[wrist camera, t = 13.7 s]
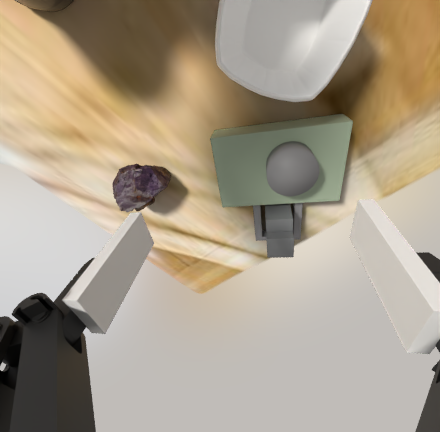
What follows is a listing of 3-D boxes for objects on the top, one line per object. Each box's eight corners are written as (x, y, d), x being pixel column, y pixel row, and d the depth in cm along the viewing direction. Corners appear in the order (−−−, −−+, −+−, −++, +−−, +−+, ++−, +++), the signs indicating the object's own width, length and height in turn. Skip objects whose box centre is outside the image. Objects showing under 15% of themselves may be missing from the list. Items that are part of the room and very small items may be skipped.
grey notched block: (266, 226, 54) (267, 257, 46) (264, 198, 49) (265, 226, 41) (287, 225, 53) (293, 257, 45) (288, 196, 48) (294, 225, 40)
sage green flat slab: (231, 234, 57) (228, 261, 49) (214, 130, 42) (205, 146, 35) (325, 231, 52) (336, 260, 45) (342, 113, 38) (362, 128, 31)
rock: (179, 178, 51) (143, 144, 47) (172, 194, 43) (129, 156, 39) (146, 208, 55) (111, 179, 51) (135, 228, 47) (92, 196, 43)
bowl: (303, 101, 38) (317, 116, 29) (215, 69, 37) (202, 74, 28) (365, -28, 28) (414, -64, 19) (249, -76, 27) (246, -137, 18)
